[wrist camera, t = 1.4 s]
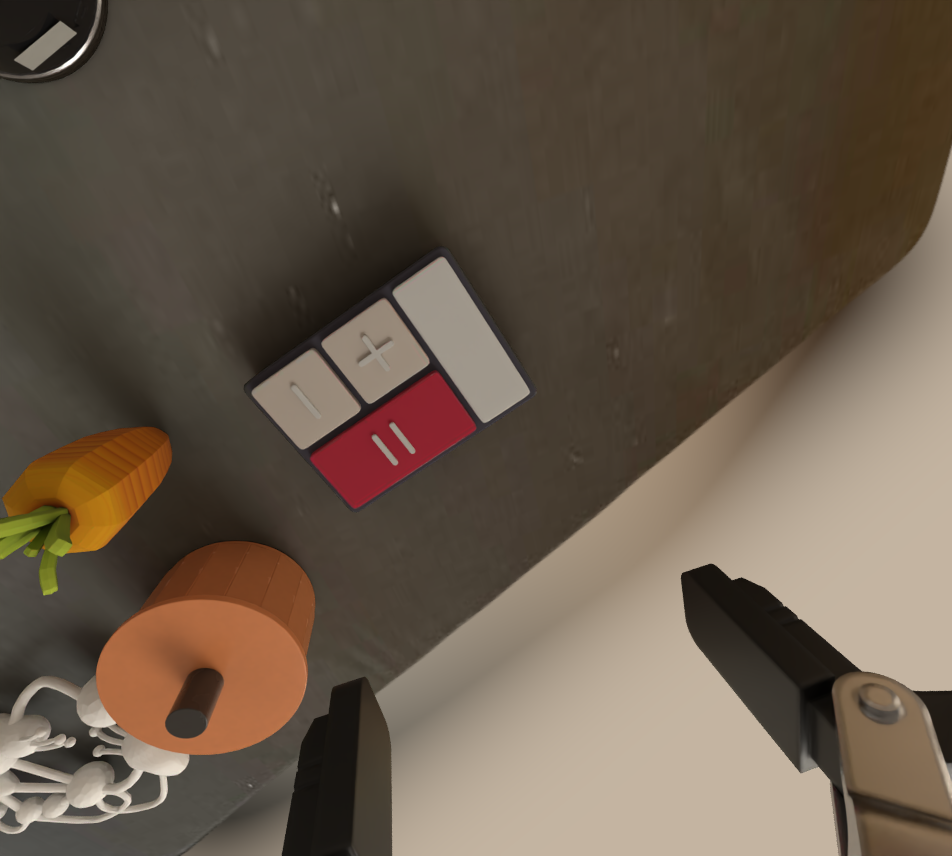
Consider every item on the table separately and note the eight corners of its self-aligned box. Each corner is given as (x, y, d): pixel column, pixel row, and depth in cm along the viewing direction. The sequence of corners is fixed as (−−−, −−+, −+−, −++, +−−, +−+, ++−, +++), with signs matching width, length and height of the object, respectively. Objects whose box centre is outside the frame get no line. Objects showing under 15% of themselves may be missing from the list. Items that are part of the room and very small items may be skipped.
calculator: (234, 391, 29) (445, 241, 27) (256, 374, 33) (441, 243, 31) (352, 522, 33) (543, 396, 31) (359, 492, 37) (528, 379, 35)
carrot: (211, 413, 33) (75, 525, 19) (194, 479, 34) (54, 631, 20) (128, 389, 31) (-85, 490, 17) (113, 458, 32) (-97, 606, 18)
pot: (139, 640, 37) (85, 719, 30) (190, 519, 35) (143, 577, 28) (283, 678, 40) (261, 757, 33) (338, 569, 38) (327, 632, 31)
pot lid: (79, 715, 31) (35, 779, 27) (142, 561, 28) (103, 607, 25) (268, 756, 34) (253, 818, 30) (338, 622, 32) (331, 670, 28)
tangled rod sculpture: (1, 830, 41) (-38, 891, 38) (-135, 726, 35) (-197, 786, 32) (223, 754, 42) (206, 806, 38) (126, 638, 36) (96, 687, 32)
